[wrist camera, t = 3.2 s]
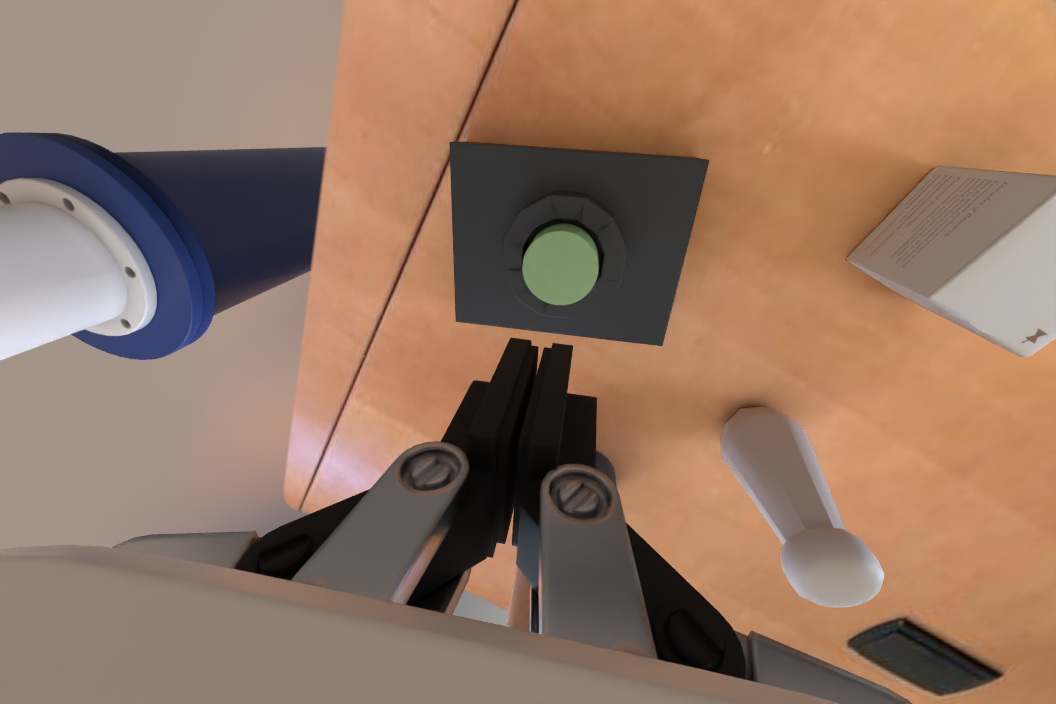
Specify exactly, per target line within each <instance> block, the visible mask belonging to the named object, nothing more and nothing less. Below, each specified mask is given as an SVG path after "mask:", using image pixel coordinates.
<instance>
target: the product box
mask: <svg viewBox="0 0 1056 704" xmlns="http://www.w3.org/2000/svg"><path fill="white" fill-rule="evenodd" d="M846 260H847V261H848V262H849V263H851V264H852V265H854V266H855V267H856V268H858V269H860V270H861V271H863V272H864V273H866V274H867V275H869V276H871V277H872V278H874V279H875V280H877V281H879V282H880V283H882V284H883V285H885V286H887V287H888V288H890V289H892V290H893V291H895V292H897V293H898V294H900V295H902V296H904V297H905V298H907V299H909V300H911V301H912V302H914V303H916V304H918V305H920V306H921V307H923V308H925V309H927V310H929V311H931V312H933V313H935V314H937V315H939V316H941V317H943V318H945V319H947V320H949V321H951V322H953V323H955V324H957V325H959V326H961V327H963V328H965V329H967V330H969V331H971V332H972V333H974V334H976V335H978V336H980V337H982V338H984V339H986V340H988V341H990V342H992V343H994V344H996V345H998V346H1000V347H1002V348H1004V349H1006V350H1008V351H1010V352H1012V353H1014V354H1016V355H1018V356H1020V357H1029V356H1031V355H1032V354H1034V353H1035V352H1036V351H1038V350H1039V349H1041V348H1042V347H1044V346H1045V345H1046V344H1048V343H1049V342H1051V341H1052V340H1054V339H1055V338H1056V176H1054V175H1042V174H1030V173H1016V172H1003V171H991V170H980V169H968V168H957V167H947V166H938V167H936V168H935V169H933V170H931V171H930V172H929V174H927V176H925V177H924V178H923V180H922V181H921V182H920V183H919V184H918V185H917V186H916V187H915V188H914V189H913V190H912V191H911V192H910V193H909V194H908V195H907V196H906V197H905V198H904V199H903V200H902V201H901V202H900V204H899V205H898V206H897V207H896V208H895V209H894V210H893V211H892V212H891V213H890V214H889V215H888V216H887V217H886V218H885V219H884V220H883V221H882V222H881V223H880V224H879V225H878V226H877V227H876V228H875V229H874V230H873V231H872V232H871V233H870V234H869V235H868V236H867V237H866V238H865V239H864V240H863V241H862V242H861V243H860V244H859V245H858V246H857V248H856V249H855V250H854V251H853V252H852V253H851V254H850V255H849V256H848V257H847V259H846Z"/></svg>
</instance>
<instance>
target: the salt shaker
mask: <svg viewBox="0 0 1056 704" xmlns="http://www.w3.org/2000/svg"><path fill="white" fill-rule="evenodd" d="M721 453H722V458H723V459H724V461H725V462H726V463H727V465H728V466H729V468H730V469H731V470H732V472H733V473H734V475H735V476H736V478H737V479H738V480H739V482H740V483H741V485H742V486H743V488H744V489H745V490H746V492H747V493H748V495H749V496H750V498H751V499H752V500H753V502H754V503H755V505H756V506H757V508H758V509H759V510H760V512H761V513H762V515H763V516H764V518H765V519H766V521H767V522H768V523H769V525H770V526H771V528H772V529H773V531H774V532H775V533H776V535H777V536H778V538H779V539H780V541H781V542H782V543H783V546H782V547H781V565H782V568H783V571H784V574H785V576H786V577H787V579H788V580H789V582H790V583H791V585H792V586H793V588H794V589H795V590H796V592H797V593H798V594H799V596H801V597H803V598H805V599H807V600H809V601H812V602H814V603H816V604H818V605H821V606H827V607H834V608H842V607H851V606H856V605H859V604H862V603H865V602H867V601H870V600H871V599H872V598H873V597H874V596H875V595H876V594H878V593H879V591H880V588H881V586H882V582H883V578H884V573H883V571H882V569H881V566H880V564H879V562H878V561H877V559H876V558H875V556H874V555H873V553H872V552H871V551H870V549H869V548H868V547H867V545H866V544H865V542H864V541H863V540H862V539H861V538H859V537H858V536H857V535H854V534H852V533H850V532H848V531H846V530H845V527H844V525H843V522H842V520H841V517H840V515H839V512H838V510H837V507H836V505H835V502H834V500H833V497H832V495H831V492H830V490H829V487H828V485H827V482H826V480H825V477H824V475H823V472H822V470H821V467H820V465H819V462H818V460H817V457H816V455H815V452H814V450H813V447H812V445H811V442H810V440H809V437H808V436H807V434H806V433H805V431H804V430H803V428H802V427H801V425H800V424H799V423H798V422H796V421H795V420H793V419H791V418H789V417H787V416H785V415H783V414H781V413H779V412H777V411H775V410H773V409H771V408H769V407H767V406H761V407H751V408H741V409H739V410H738V411H737V412H736V413H735V414H734V415H733V416H732V417H731V418H730V419H729V420H728V421H727V422H726V423H725V424H724V428H723V432H722V436H721Z"/></svg>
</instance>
